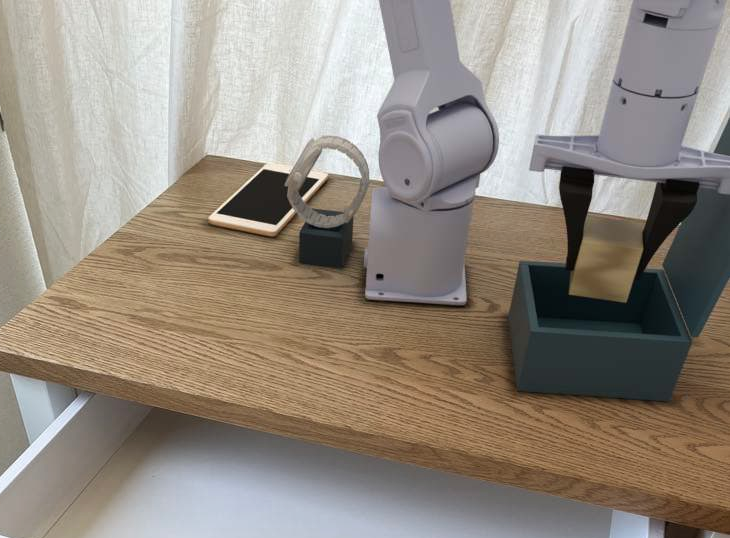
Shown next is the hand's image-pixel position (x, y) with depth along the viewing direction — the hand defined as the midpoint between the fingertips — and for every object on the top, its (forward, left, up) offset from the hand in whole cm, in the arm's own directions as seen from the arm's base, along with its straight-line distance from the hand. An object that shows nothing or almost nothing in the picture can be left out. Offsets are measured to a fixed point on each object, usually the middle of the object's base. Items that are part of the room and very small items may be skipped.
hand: (602, 269), depth 66 cm
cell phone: (-31, +27, -8) cm, 42 cm away
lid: (+7, 0, +4) cm, 8 cm away
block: (0, 0, -1) cm, 1 cm away
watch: (-24, +16, -8) cm, 30 cm away
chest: (0, 0, -8) cm, 8 cm away
